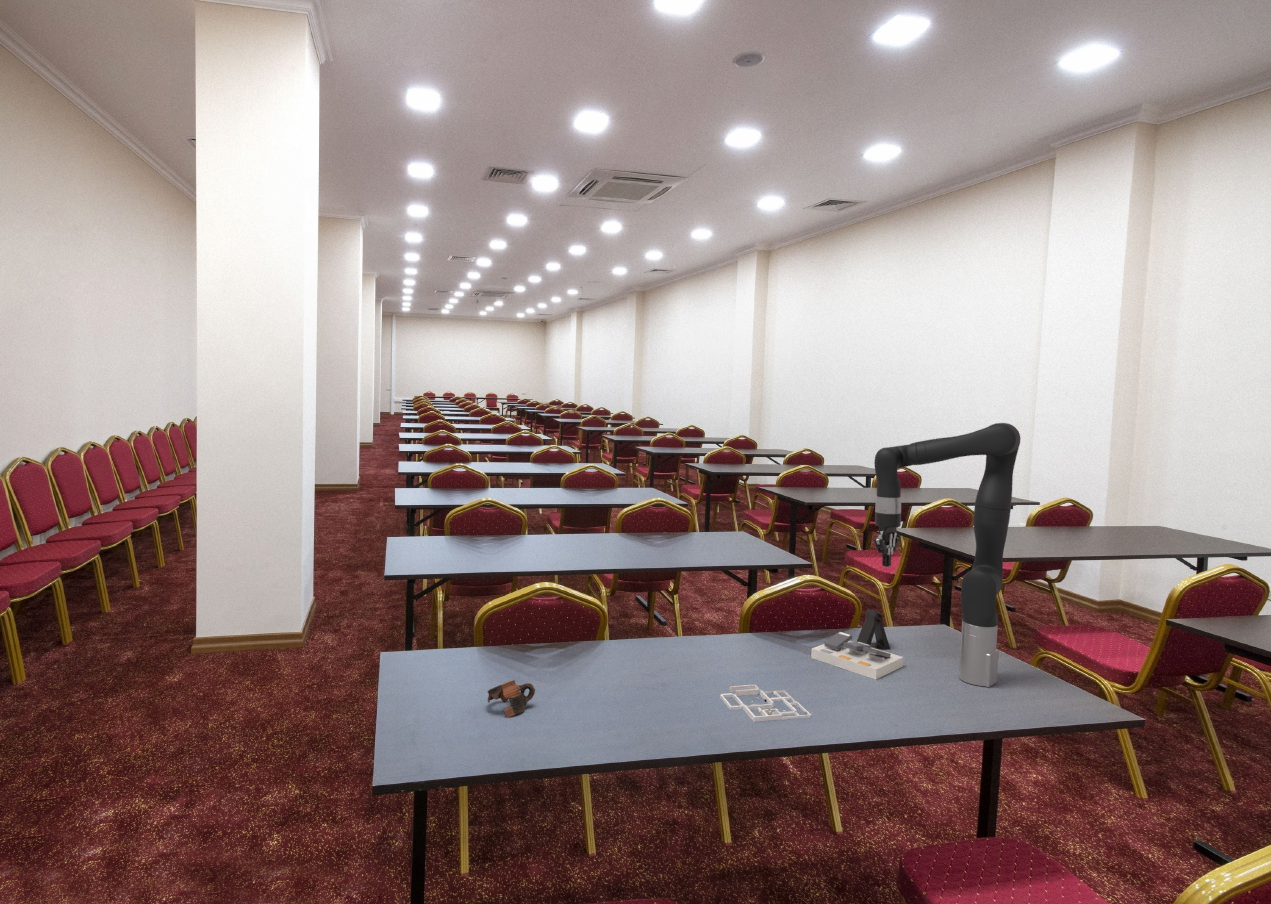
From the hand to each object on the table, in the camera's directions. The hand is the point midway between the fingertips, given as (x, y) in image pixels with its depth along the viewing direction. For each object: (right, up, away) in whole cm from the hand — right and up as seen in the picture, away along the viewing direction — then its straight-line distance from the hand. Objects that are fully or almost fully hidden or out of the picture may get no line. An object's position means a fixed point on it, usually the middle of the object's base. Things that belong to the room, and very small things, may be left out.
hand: (886, 565), depth 216 cm
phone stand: (0, -29, +12) cm, 31 cm away
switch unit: (-10, -30, -2) cm, 31 cm away
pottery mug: (-110, -30, -39) cm, 121 cm away
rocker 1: (-14, -25, +2) cm, 29 cm away
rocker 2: (-10, -25, -2) cm, 27 cm away
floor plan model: (-48, -32, -34) cm, 67 cm away
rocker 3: (-6, -25, -7) cm, 27 cm away
